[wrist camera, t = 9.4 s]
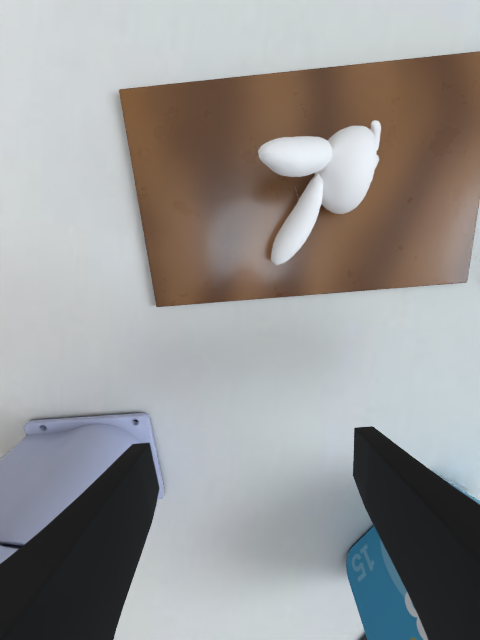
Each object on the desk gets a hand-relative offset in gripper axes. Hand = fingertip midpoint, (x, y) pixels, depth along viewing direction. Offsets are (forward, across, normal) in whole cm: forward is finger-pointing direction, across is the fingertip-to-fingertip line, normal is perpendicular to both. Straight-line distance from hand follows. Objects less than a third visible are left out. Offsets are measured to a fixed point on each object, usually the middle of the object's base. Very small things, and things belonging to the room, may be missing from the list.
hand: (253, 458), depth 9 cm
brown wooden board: (+10, -4, -10) cm, 14 cm away
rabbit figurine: (+10, -4, -10) cm, 14 cm away
